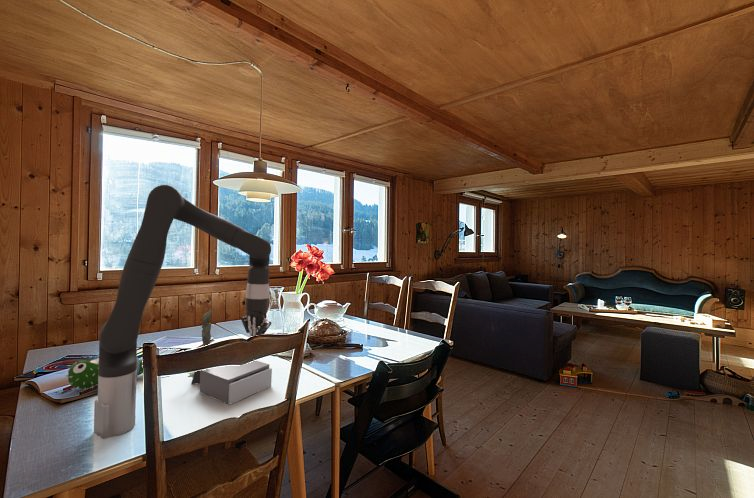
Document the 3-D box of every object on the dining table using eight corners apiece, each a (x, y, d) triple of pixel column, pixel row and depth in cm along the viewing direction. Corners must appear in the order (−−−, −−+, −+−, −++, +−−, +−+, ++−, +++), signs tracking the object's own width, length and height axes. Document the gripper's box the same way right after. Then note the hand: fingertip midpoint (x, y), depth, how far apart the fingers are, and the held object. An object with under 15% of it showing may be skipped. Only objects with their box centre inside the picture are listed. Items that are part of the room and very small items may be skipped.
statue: (195, 377, 144) (197, 305, 144) (215, 376, 146) (217, 305, 146) (190, 384, 137) (193, 308, 137) (211, 383, 139) (214, 308, 139)
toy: (169, 352, 141) (72, 362, 119) (168, 381, 139) (69, 397, 117) (152, 350, 155) (62, 359, 133) (150, 376, 153) (59, 390, 131)
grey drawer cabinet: (268, 385, 139) (269, 364, 139) (227, 403, 123) (228, 380, 123) (241, 376, 147) (242, 356, 147) (199, 392, 131) (200, 369, 131)
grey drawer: (271, 385, 139) (271, 368, 138) (230, 404, 122) (230, 384, 122) (244, 376, 146) (245, 360, 146) (202, 393, 130) (203, 374, 130)
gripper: (279, 297, 120) (276, 347, 120) (253, 293, 126) (250, 340, 127) (262, 300, 113) (259, 353, 114) (235, 294, 120) (232, 345, 120)
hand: (254, 346), depth 120 cm, fingers closed
